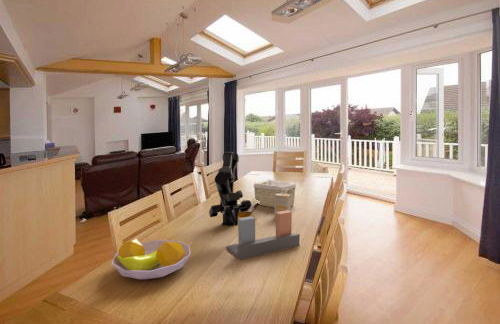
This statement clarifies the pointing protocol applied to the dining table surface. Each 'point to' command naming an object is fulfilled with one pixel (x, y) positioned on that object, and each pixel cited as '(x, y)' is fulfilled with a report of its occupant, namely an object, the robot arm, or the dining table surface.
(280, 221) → the terracotta key
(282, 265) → the dining table surface
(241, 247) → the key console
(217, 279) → the dining table surface
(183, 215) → the dining table surface
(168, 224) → the dining table surface
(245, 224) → the slate key
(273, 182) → the storage basket
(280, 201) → the supplement box
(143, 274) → the fruit bowl
